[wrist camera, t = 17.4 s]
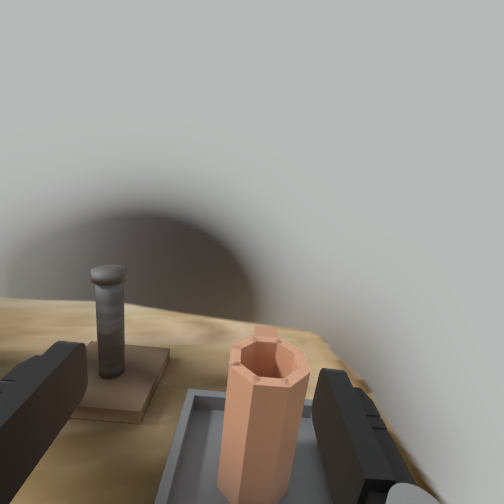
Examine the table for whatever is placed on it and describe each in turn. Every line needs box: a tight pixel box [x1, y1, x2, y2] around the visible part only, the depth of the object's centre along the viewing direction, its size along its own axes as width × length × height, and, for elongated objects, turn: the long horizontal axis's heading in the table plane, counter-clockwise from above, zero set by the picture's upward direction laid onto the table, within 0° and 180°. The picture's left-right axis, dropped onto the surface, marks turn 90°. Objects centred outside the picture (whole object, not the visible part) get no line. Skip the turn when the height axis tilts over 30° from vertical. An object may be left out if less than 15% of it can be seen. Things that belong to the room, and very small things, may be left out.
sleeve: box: [217, 326, 310, 504], centre depth 22 cm, size 7×6×11 cm
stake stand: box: [70, 265, 170, 424], centre depth 30 cm, size 10×10×14 cm
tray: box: [154, 389, 332, 504], centre depth 23 cm, size 14×14×2 cm
